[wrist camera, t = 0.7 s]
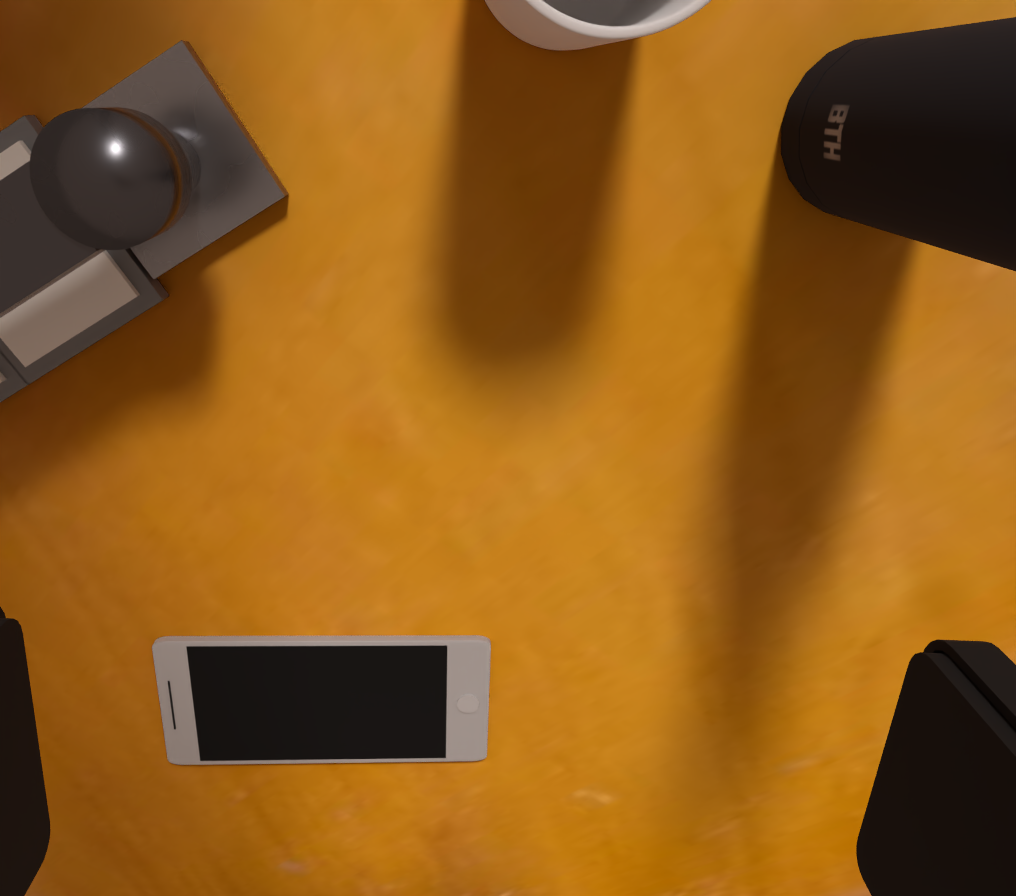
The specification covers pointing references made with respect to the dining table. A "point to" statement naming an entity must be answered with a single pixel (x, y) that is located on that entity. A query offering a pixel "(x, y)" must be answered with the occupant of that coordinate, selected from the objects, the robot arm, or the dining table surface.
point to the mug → (588, 20)
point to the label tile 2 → (69, 290)
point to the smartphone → (323, 698)
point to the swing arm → (87, 196)
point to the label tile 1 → (9, 379)
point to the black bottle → (914, 137)
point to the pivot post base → (197, 153)
